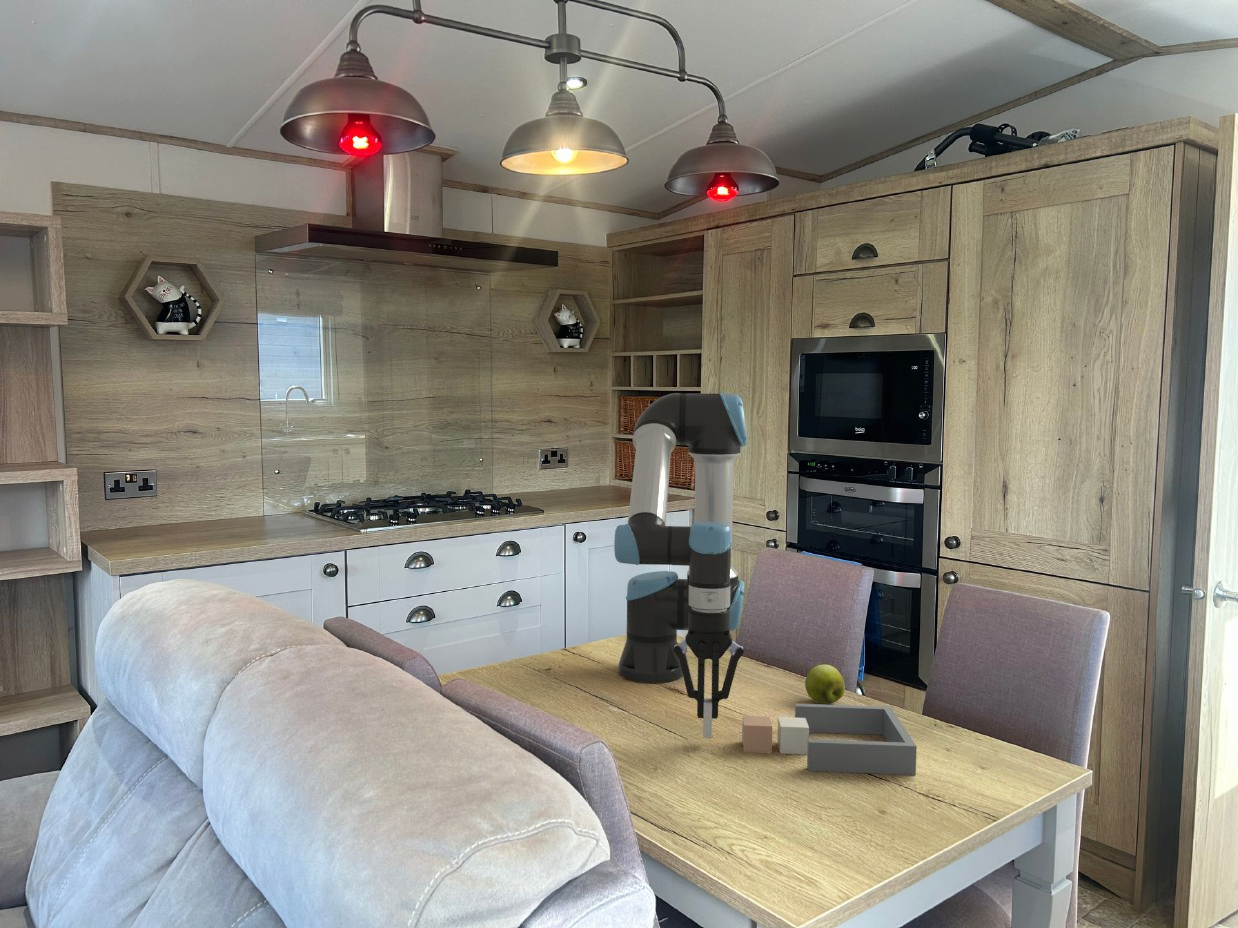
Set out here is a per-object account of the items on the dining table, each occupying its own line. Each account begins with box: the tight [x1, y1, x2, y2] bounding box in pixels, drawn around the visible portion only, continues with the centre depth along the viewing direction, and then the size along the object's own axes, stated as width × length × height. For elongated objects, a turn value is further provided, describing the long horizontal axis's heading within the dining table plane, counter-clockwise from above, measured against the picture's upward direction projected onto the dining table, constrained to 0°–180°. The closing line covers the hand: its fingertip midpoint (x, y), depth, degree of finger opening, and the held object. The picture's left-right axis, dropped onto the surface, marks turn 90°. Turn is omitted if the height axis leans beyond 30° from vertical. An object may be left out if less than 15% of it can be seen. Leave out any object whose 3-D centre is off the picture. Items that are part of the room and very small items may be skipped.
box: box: [794, 703, 918, 776], centre depth 164 cm, size 20×18×5 cm
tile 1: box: [741, 715, 773, 754], centre depth 166 cm, size 5×5×5 cm
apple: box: [804, 664, 846, 705], centre depth 190 cm, size 8×9×8 cm
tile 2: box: [776, 716, 810, 755], centre depth 165 cm, size 5×5×5 cm
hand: (707, 734), depth 166 cm, fingers closed
